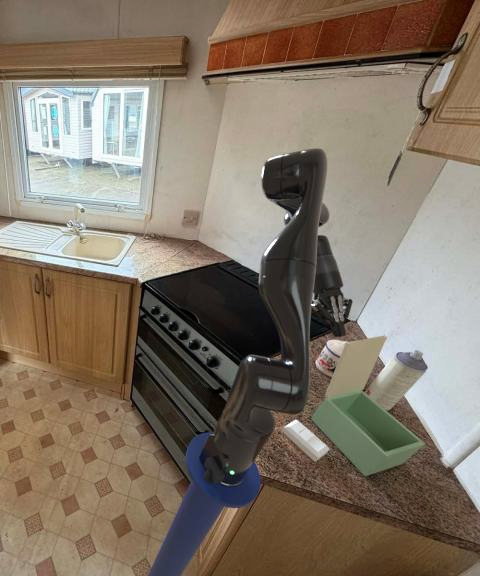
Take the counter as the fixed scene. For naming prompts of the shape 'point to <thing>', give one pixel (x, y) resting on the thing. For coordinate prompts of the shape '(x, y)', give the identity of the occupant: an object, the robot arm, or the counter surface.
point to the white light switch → (305, 440)
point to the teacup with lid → (330, 357)
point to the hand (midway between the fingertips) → (340, 336)
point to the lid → (355, 366)
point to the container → (365, 432)
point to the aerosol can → (397, 378)
